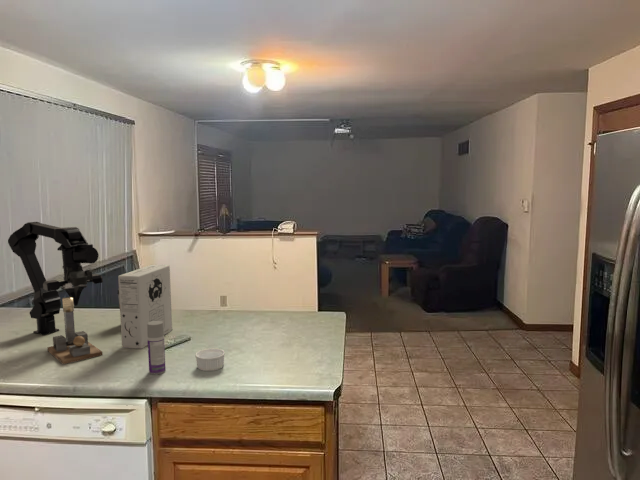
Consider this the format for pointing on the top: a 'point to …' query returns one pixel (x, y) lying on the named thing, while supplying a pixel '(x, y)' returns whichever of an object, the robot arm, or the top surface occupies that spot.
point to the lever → (69, 320)
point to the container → (156, 347)
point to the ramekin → (210, 359)
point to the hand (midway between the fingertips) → (75, 305)
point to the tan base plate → (73, 348)
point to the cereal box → (144, 303)
